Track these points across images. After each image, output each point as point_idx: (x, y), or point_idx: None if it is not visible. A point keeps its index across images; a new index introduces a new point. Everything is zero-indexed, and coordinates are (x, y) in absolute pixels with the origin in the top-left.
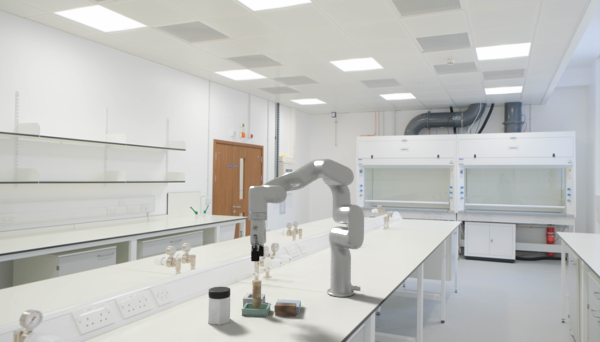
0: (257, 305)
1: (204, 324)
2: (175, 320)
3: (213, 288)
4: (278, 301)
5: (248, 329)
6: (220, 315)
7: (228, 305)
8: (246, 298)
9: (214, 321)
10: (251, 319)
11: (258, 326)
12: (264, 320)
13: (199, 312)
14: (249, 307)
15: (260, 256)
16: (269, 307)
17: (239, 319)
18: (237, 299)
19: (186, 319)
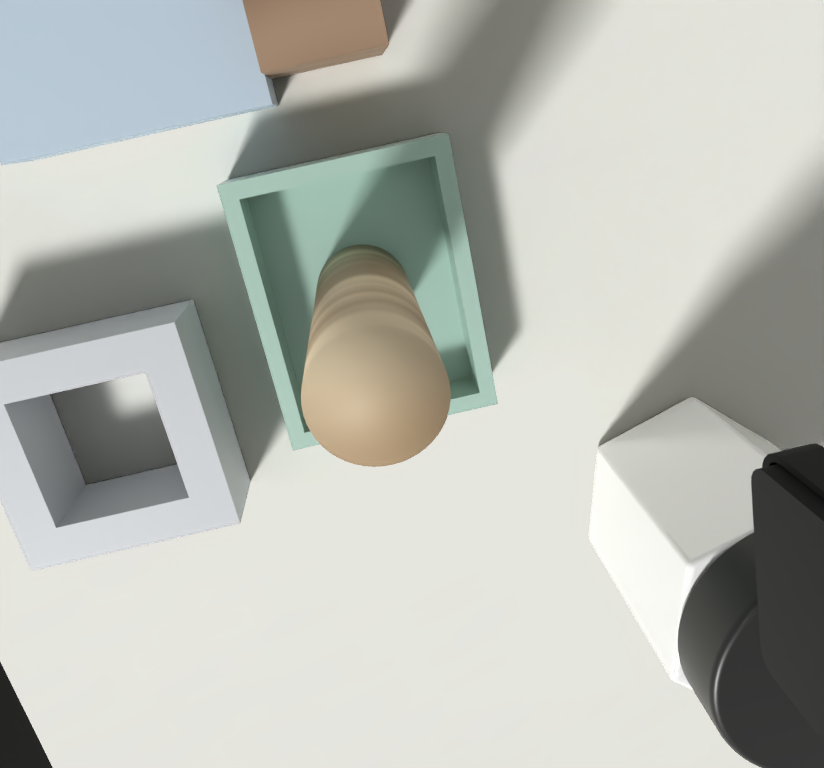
0: (405, 277)
1: None
2: (726, 760)
3: (820, 746)
4: (79, 120)
5: (821, 163)
6: None
7: None
8: (221, 493)
9: None
10: (565, 249)
11: (732, 102)
12: (558, 111)
13: (519, 718)
14: (299, 397)
15: (13, 717)
16: (277, 171)
17: (593, 354)
18: (51, 630)
19: (691, 712)
